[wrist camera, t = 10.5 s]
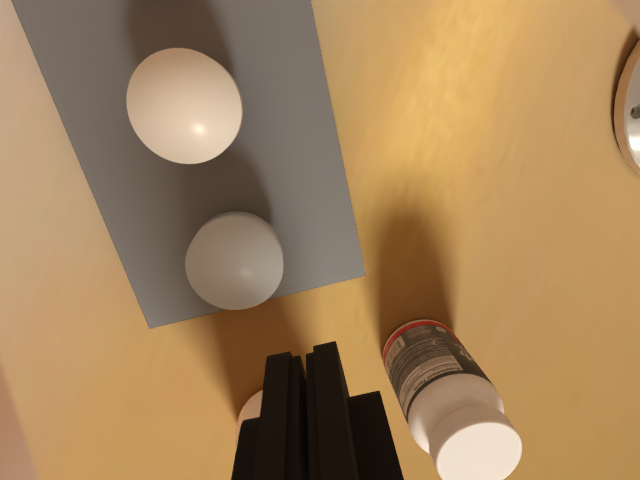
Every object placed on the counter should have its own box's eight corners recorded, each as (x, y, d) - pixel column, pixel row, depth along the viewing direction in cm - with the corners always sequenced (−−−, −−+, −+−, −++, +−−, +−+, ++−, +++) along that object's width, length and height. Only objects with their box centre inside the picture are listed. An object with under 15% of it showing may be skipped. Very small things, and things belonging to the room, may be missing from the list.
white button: (226, 41, 20) (222, 35, 18) (255, 146, 21) (253, 150, 20) (123, 65, 19) (108, 62, 18) (159, 168, 21) (149, 175, 19)
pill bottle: (464, 362, 32) (543, 473, 22) (397, 393, 32) (447, 514, 23) (440, 303, 30) (516, 397, 20) (369, 336, 30) (411, 443, 21)
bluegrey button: (270, 201, 22) (269, 209, 21) (292, 283, 24) (293, 297, 22) (179, 223, 22) (171, 233, 20) (207, 304, 24) (202, 319, 22)
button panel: (268, -181, 20) (267, -233, 17) (359, 263, 28) (370, 284, 25) (-18, -119, 20) (-72, -159, 17) (158, 313, 28) (143, 340, 25)
